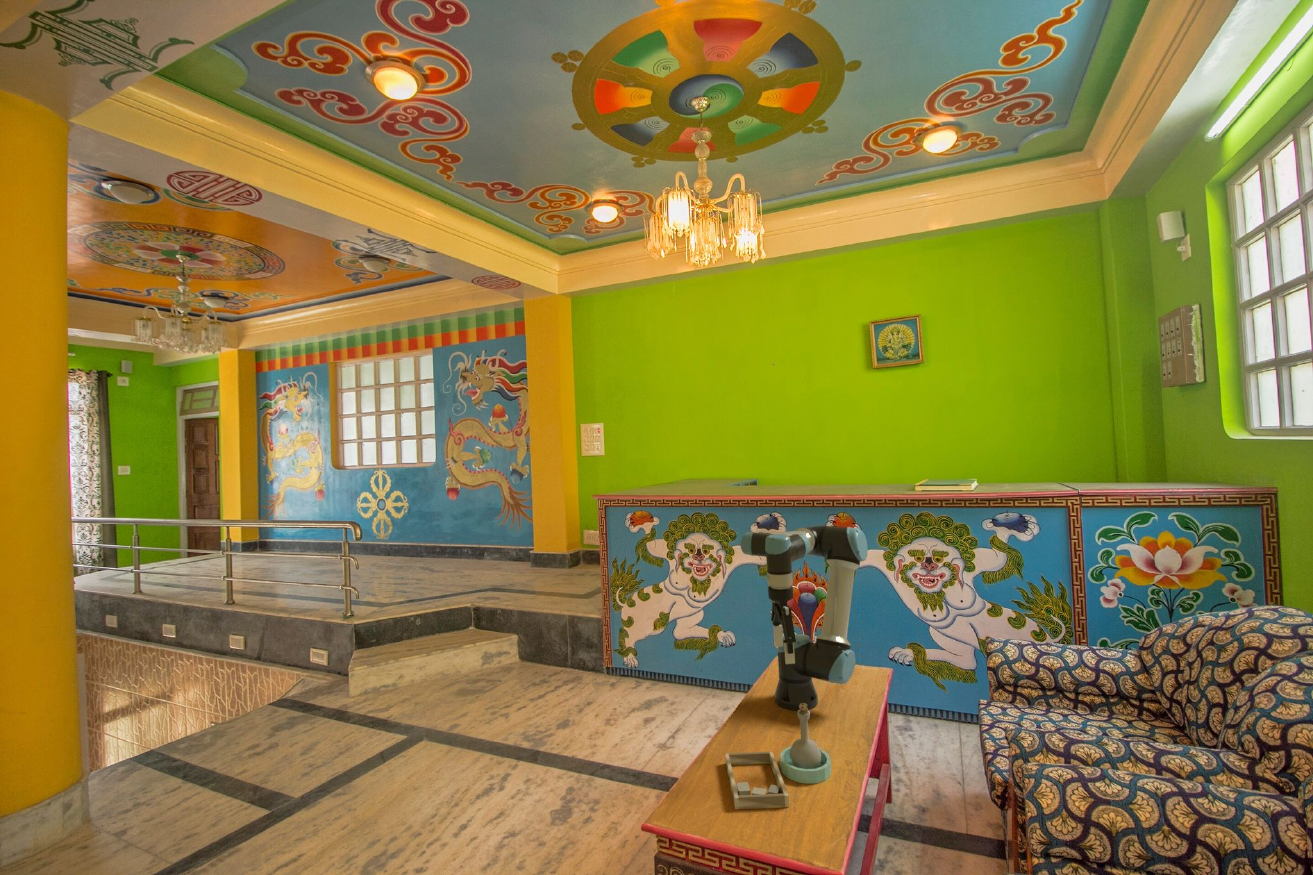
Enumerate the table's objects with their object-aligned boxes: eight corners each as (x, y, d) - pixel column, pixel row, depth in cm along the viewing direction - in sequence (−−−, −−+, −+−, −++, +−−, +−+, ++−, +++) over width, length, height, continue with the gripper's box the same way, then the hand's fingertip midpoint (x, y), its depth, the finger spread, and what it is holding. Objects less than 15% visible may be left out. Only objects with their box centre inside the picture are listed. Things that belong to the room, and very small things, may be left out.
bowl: (776, 757, 180) (776, 745, 180) (823, 755, 180) (822, 743, 180) (786, 784, 166) (786, 771, 166) (837, 782, 166) (836, 769, 166)
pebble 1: (752, 802, 160) (751, 792, 160) (754, 795, 162) (753, 787, 162) (765, 804, 158) (764, 795, 158) (767, 798, 161) (766, 789, 161)
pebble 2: (771, 792, 163) (770, 784, 163) (780, 794, 162) (780, 786, 162) (768, 799, 160) (767, 791, 160) (777, 801, 159) (777, 793, 159)
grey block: (736, 791, 164) (736, 782, 164) (747, 790, 165) (747, 781, 165) (739, 800, 160) (739, 791, 160) (750, 799, 161) (750, 790, 161)
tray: (725, 763, 178) (725, 753, 178) (772, 761, 178) (772, 751, 178) (735, 809, 156) (734, 797, 156) (789, 807, 156) (788, 795, 156)
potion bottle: (822, 761, 176) (819, 699, 176) (820, 777, 168) (818, 713, 168) (791, 757, 179) (789, 696, 179) (788, 773, 171) (786, 710, 171)
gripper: (759, 576, 197) (763, 640, 197) (778, 598, 172) (782, 672, 172) (782, 574, 197) (785, 638, 197) (804, 596, 172) (808, 670, 173)
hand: (784, 654), depth 185 cm, fingers open, 13 cm apart
